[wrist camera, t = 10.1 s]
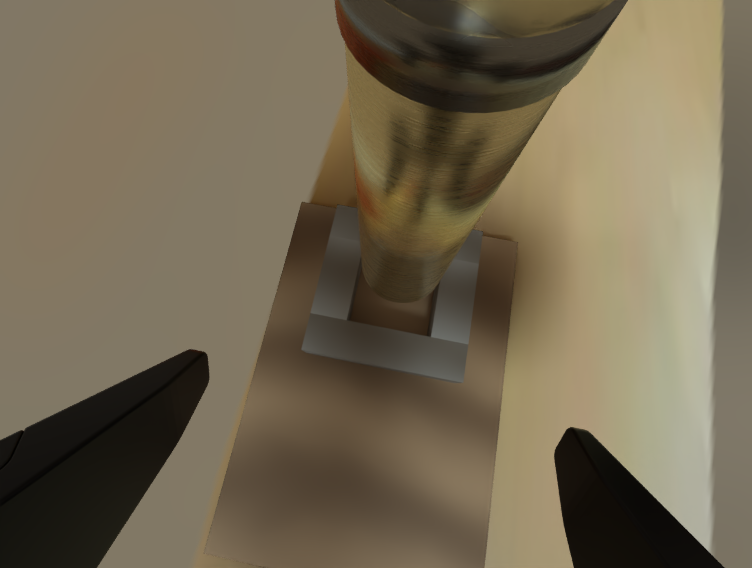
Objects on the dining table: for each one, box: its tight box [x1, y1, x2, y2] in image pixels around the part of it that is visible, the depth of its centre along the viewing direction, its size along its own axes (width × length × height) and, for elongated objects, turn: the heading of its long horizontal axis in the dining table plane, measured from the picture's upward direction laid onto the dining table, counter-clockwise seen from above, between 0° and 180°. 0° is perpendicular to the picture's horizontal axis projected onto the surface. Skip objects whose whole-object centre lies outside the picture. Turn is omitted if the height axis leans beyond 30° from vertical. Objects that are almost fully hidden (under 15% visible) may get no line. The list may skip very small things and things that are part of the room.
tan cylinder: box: [335, 0, 628, 303], centre depth 11 cm, size 4×4×13 cm
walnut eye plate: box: [204, 202, 518, 568], centre depth 21 cm, size 20×14×3 cm
